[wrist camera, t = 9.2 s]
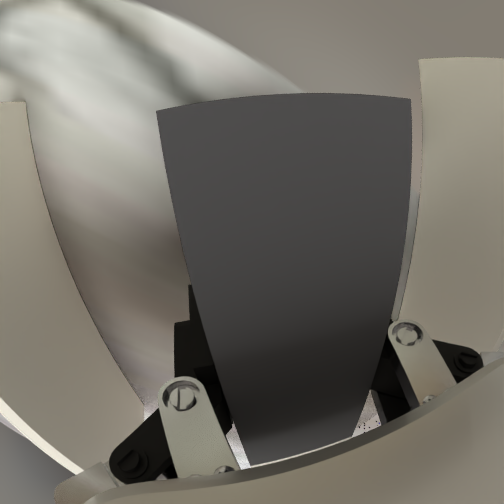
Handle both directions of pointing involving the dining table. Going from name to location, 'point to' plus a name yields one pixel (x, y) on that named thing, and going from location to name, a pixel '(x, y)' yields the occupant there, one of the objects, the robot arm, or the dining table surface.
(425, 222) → the strip
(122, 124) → the dining table surface
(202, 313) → the dark gray block
